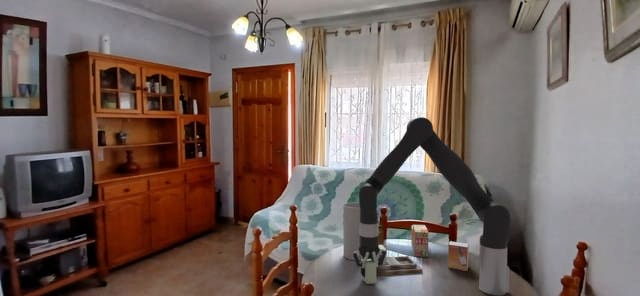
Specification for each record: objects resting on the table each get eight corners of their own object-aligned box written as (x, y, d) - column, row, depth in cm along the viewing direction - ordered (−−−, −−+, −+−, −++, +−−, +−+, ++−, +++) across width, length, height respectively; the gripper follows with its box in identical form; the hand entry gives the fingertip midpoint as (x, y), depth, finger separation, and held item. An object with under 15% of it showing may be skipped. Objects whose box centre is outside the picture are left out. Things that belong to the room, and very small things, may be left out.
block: (382, 262, 150) (382, 244, 150) (386, 267, 144) (386, 249, 144) (373, 262, 150) (373, 245, 149) (377, 268, 144) (377, 249, 143)
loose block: (371, 276, 137) (371, 257, 137) (376, 283, 131) (376, 263, 131) (362, 277, 137) (362, 258, 136) (366, 283, 131) (366, 263, 130)
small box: (447, 268, 147) (447, 244, 147) (449, 263, 152) (449, 240, 152) (467, 271, 144) (467, 247, 143) (468, 266, 149) (468, 243, 148)
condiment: (369, 249, 171) (369, 226, 171) (372, 244, 179) (372, 222, 179) (383, 251, 169) (383, 227, 168) (386, 245, 177) (386, 223, 176)
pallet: (409, 260, 156) (409, 254, 156) (422, 272, 142) (422, 265, 142) (363, 263, 153) (363, 256, 153) (372, 276, 139) (372, 269, 139)
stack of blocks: (411, 242, 182) (411, 219, 182) (422, 242, 181) (423, 220, 181) (414, 256, 161) (415, 231, 161) (428, 257, 160) (428, 231, 160)
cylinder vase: (341, 260, 157) (341, 207, 156) (345, 250, 170) (345, 201, 168) (368, 262, 154) (368, 208, 153) (370, 252, 167) (370, 202, 165)
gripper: (353, 237, 128) (354, 281, 129) (389, 235, 130) (389, 278, 131) (349, 231, 136) (349, 273, 137) (383, 229, 138) (383, 270, 139)
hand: (369, 275), depth 134 cm, fingers closed on loose block, 4 cm apart
